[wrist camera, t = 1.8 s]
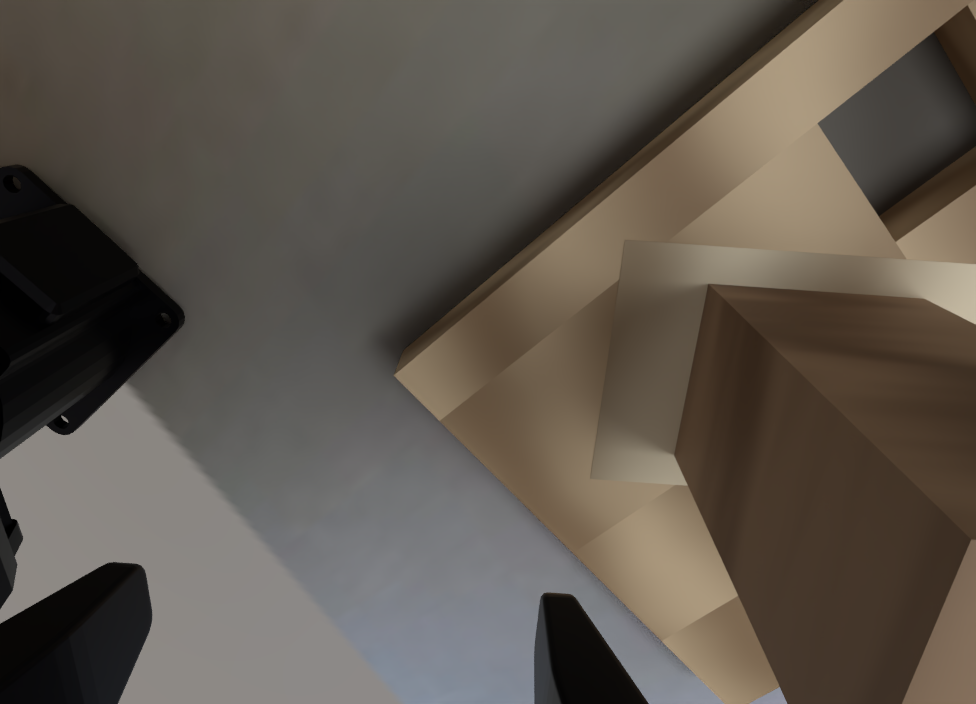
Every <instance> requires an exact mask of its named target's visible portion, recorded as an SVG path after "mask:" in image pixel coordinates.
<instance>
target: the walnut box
mask: <svg viewBox="0 0 976 704" xmlns="http://www.w3.org/2000/svg"><path fill="white" fill-rule="evenodd" d="M674 457H675V459H676V461H677V463H678V465H679V467H680V470H681V472H682V474H683V476H684V478H685V481H686V483H687V485H688V487H689V489H690V492H691V494H692V496H693V498H694V500H695V502H696V505H697V507H698V509H699V511H700V513H701V516H702V518H703V520H704V522H705V524H706V527H707V529H708V531H709V533H710V535H711V537H712V540H713V542H714V544H715V546H716V548H717V551H718V553H719V555H720V557H721V559H722V561H723V564H724V566H725V568H726V570H727V572H728V575H729V577H730V579H731V581H732V583H733V586H734V588H735V590H736V592H737V594H738V596H739V599H740V601H741V603H742V605H743V607H744V610H745V612H746V614H747V616H748V618H749V621H750V623H751V625H752V627H753V629H754V631H755V634H756V636H757V638H758V640H759V642H760V645H761V647H762V649H763V651H764V653H765V655H766V658H767V660H768V662H769V664H770V666H771V669H772V671H773V673H774V675H775V677H776V680H777V682H778V684H779V686H780V688H781V690H782V693H783V695H784V697H785V699H786V701H787V704H976V325H975V324H974V323H972V322H970V321H968V320H966V319H964V318H962V317H960V316H958V315H956V314H954V313H952V312H950V311H948V310H946V309H944V308H942V307H940V306H938V305H936V304H934V303H932V302H930V301H928V300H926V299H922V298H908V297H893V296H879V295H865V294H850V293H836V292H821V291H807V290H793V289H778V288H764V287H749V286H735V285H721V284H708V288H707V293H706V298H705V303H704V308H703V313H702V318H701V323H700V328H699V333H698V338H697V343H696V348H695V353H694V358H693V363H692V368H691V373H690V378H689V383H688V388H687V393H686V398H685V403H684V408H683V413H682V418H681V423H680V428H679V433H678V438H677V443H676V448H675V453H674Z"/></svg>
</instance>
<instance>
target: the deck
mask: <svg viewBox="0 0 976 704" xmlns="http://www.w3.org/2000/svg"><path fill="white" fill-rule="evenodd" d="M708 284H721V285H735V286H749V287H764V288H778V289H793V290H807V291H821V292H836V293H850V294H865V295H879V296H893V297H908V298H922V299H926V300H928V301H930V302H932V303H934V304H936V305H938V306H940V307H942V308H944V309H946V310H948V311H950V312H952V313H954V314H956V315H958V316H960V317H962V318H964V319H966V320H968V321H970V322H972V323H974V324H975V325H976V0H818V1H817V2H816V3H814V4H813V5H812V6H811V7H810V8H809V9H807V10H806V11H805V12H804V13H803V14H801V15H800V16H799V17H798V18H797V19H796V20H794V21H793V22H792V23H791V24H790V25H788V26H787V27H786V28H785V29H784V30H782V31H781V32H780V33H779V34H778V35H777V36H775V37H774V38H773V39H772V40H771V41H769V42H768V43H767V44H766V45H765V46H764V47H762V48H761V49H760V50H759V51H758V52H756V53H755V54H754V55H753V56H752V57H750V58H749V59H748V60H747V61H746V62H745V63H743V64H742V65H741V66H740V67H739V68H737V69H736V70H735V71H734V72H733V73H732V74H730V75H729V76H728V77H727V78H726V79H724V80H723V81H722V82H721V83H720V84H718V85H717V86H716V87H715V88H714V89H713V90H711V91H710V92H709V93H708V94H707V95H705V96H704V97H703V98H702V99H701V100H700V101H698V102H697V103H696V104H695V105H694V106H692V107H691V108H690V109H689V110H688V111H686V112H685V113H684V114H683V115H682V116H681V117H679V118H678V119H677V120H676V121H675V122H673V123H672V124H671V125H670V126H669V127H668V128H666V129H665V130H664V131H663V132H662V133H660V134H659V135H658V136H657V137H656V138H654V139H653V140H652V141H651V142H650V143H649V144H647V145H646V146H645V147H644V148H643V149H641V150H640V151H639V152H638V153H637V154H636V155H634V156H633V157H632V158H631V159H630V160H628V161H627V162H626V163H625V164H624V165H622V166H621V167H620V168H619V169H618V170H617V171H615V172H614V173H613V174H612V175H611V176H609V177H608V178H607V179H606V180H605V181H604V182H602V183H601V184H600V185H599V186H598V187H596V188H595V189H594V190H593V191H592V192H591V193H589V194H588V195H587V196H586V197H585V198H583V199H582V200H581V201H580V202H579V203H577V204H576V205H575V206H574V207H573V208H572V209H570V210H569V211H568V212H567V213H566V214H564V215H563V216H562V217H561V218H560V219H559V220H557V221H556V222H555V223H554V224H553V225H551V226H550V227H549V228H548V229H547V230H545V231H544V232H543V233H542V234H541V235H540V236H538V237H537V238H536V239H535V240H534V241H532V242H531V243H530V244H529V245H528V246H527V247H525V248H524V249H523V250H522V251H521V252H519V253H518V254H517V255H516V256H515V257H513V258H512V259H511V260H510V261H509V262H508V263H506V264H505V265H504V266H503V267H502V268H500V269H499V270H498V271H497V272H496V273H495V274H493V275H492V276H491V277H490V278H489V279H487V280H486V281H485V282H484V283H483V284H481V285H480V286H479V287H478V288H477V289H476V290H474V291H473V292H472V293H471V294H470V295H468V296H467V297H466V298H465V299H464V300H463V301H461V302H460V303H459V304H458V305H457V306H455V307H454V308H453V309H452V310H451V311H449V312H448V313H447V314H446V315H445V316H444V317H442V318H441V319H440V320H439V321H438V322H436V323H435V324H434V325H433V326H432V327H431V328H429V329H428V330H427V331H426V332H425V333H423V334H422V335H421V336H420V337H419V338H417V339H416V340H415V341H414V342H413V343H412V344H410V345H409V346H408V347H407V348H406V349H404V350H403V353H402V355H401V358H400V360H399V363H398V366H397V368H396V371H395V373H394V376H395V377H396V378H397V379H398V380H399V381H400V382H401V383H402V384H403V385H404V386H405V387H406V388H407V389H408V390H409V391H410V392H411V393H412V394H413V395H414V396H415V397H416V398H417V399H418V400H419V401H420V402H421V403H422V404H423V405H424V406H425V407H426V408H427V409H428V410H429V411H430V412H431V413H432V414H433V415H434V416H435V417H436V418H437V419H438V420H439V421H440V422H441V423H442V424H443V425H444V426H445V427H446V428H447V429H448V430H449V431H450V432H451V433H452V434H453V435H454V436H455V437H456V438H457V439H458V440H459V441H460V442H461V443H462V444H463V445H464V446H465V447H466V448H467V449H468V450H469V451H470V452H471V453H472V454H473V455H474V456H475V457H476V458H477V459H478V460H479V461H480V462H481V463H482V464H483V465H484V466H485V467H487V468H488V469H489V470H490V471H491V472H492V473H493V474H494V475H495V476H496V477H497V478H498V479H499V480H500V481H501V482H502V483H503V484H504V485H505V486H506V487H507V488H508V489H509V490H510V491H511V492H512V493H513V494H514V495H515V496H516V497H517V498H518V499H519V500H520V501H521V502H522V503H523V504H524V505H525V506H526V507H527V508H528V509H529V510H530V511H531V512H532V513H533V514H534V515H535V516H536V517H537V518H538V519H539V520H540V521H541V522H542V523H543V524H544V525H545V526H546V527H547V528H548V529H549V530H550V531H551V532H552V533H553V534H554V535H555V536H556V537H557V538H558V539H559V540H560V541H561V542H562V543H563V544H564V545H565V546H566V547H567V548H568V549H569V550H570V551H571V552H572V553H573V554H574V555H575V556H576V557H577V558H578V559H579V560H580V561H581V562H582V563H583V564H584V565H585V566H586V567H587V568H588V569H589V570H590V571H591V572H592V573H593V574H594V575H595V576H596V577H597V578H598V579H599V580H601V581H602V582H603V583H604V584H605V585H606V586H607V587H608V588H609V589H610V590H611V591H612V592H613V593H614V594H615V595H616V596H617V597H618V598H619V599H620V600H621V601H622V602H623V603H624V604H625V605H626V606H627V607H628V608H629V609H630V610H631V611H632V612H633V613H634V614H635V615H636V616H637V617H638V618H639V619H640V620H641V621H642V622H643V623H644V624H645V625H646V626H647V627H648V628H649V629H650V630H651V631H652V632H653V633H654V634H655V635H656V636H657V637H658V638H659V639H660V640H661V641H662V642H663V643H664V644H665V645H666V646H667V647H668V648H669V649H670V650H671V651H672V652H673V653H674V654H675V655H676V656H677V657H678V658H679V659H680V660H681V661H682V662H683V663H684V664H685V665H686V666H687V667H688V668H689V669H690V670H691V671H692V672H693V673H694V674H695V675H696V676H697V677H698V678H699V679H700V680H701V681H702V682H703V683H704V684H705V685H706V686H707V687H708V688H709V689H710V690H711V691H712V692H714V693H715V694H716V695H717V696H718V697H719V698H720V699H721V700H722V701H723V702H724V703H725V704H749V703H751V702H752V701H754V700H756V699H758V698H760V697H762V696H764V695H765V694H767V693H769V692H771V691H773V690H775V689H777V688H778V687H780V686H779V684H778V682H777V680H776V677H775V675H774V673H773V671H772V669H771V666H770V664H769V662H768V660H767V658H766V655H765V653H764V651H763V649H762V647H761V645H760V642H759V640H758V638H757V636H756V634H755V631H754V629H753V627H752V625H751V623H750V621H749V618H748V616H747V614H746V612H745V610H744V607H743V605H742V603H741V601H740V599H739V596H738V594H737V592H736V590H735V588H734V586H733V583H732V581H731V579H730V577H729V575H728V572H727V570H726V568H725V566H724V564H723V561H722V559H721V557H720V555H719V553H718V551H717V548H716V546H715V544H714V542H713V540H712V537H711V535H710V533H709V531H708V529H707V527H706V524H705V522H704V520H703V518H702V516H701V513H700V511H699V509H698V507H697V505H696V502H695V500H694V498H693V496H692V494H691V492H690V489H689V487H688V485H687V483H686V481H685V478H684V476H683V474H682V472H681V470H680V467H679V465H678V463H677V461H676V459H675V457H674V453H675V448H676V443H677V438H678V433H679V428H680V423H681V418H682V413H683V408H684V403H685V398H686V393H687V388H688V383H689V378H690V373H691V368H692V363H693V358H694V353H695V348H696V343H697V338H698V333H699V328H700V323H701V318H702V313H703V308H704V303H705V298H706V293H707V288H708Z"/></svg>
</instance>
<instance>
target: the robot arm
mask: <svg viewBox="0 0 976 704" xmlns="http://www.w3.org/2000/svg"><path fill="white" fill-rule="evenodd" d="M13 177H16V178H17V179H18V180H19V181H20V183H21V189H20V190H19V189H17V188H16V187H15V185H14V184H13ZM161 313H166V314H167V315H169V317H170V318H171V324H170V323H167V322H165V321H164V320H163V319H162V317H161ZM184 322H185V316H184V313H183V311H182V309H181V308H180V307H179V306H178V305H177V304H176V303H175V302H174V301H173V300H172V299H171V298H170V297H168V296H167V295H166V294H165V293H164V292H163V291H162V290H161V289H160V288H159V287H158V286H156V285H155V284H154V283H153V282H152V281H151V280H150V279H149V278H148V277H147V276H146V275H144V274H143V273H142V272H141V271H140V270H139V268H138V265H137V263H136V262H135V261H134V260H133V259H131V258H130V257H129V256H128V255H127V254H126V253H125V252H124V251H123V250H122V249H121V248H119V247H118V246H117V245H116V244H115V243H114V242H113V241H112V240H111V239H110V238H109V237H108V236H106V235H105V234H104V233H103V232H102V231H101V230H100V229H99V228H98V227H97V226H96V225H94V224H93V223H92V222H91V221H90V220H89V219H88V218H87V217H86V216H85V215H84V214H82V213H81V212H80V211H79V210H78V209H77V208H76V207H75V206H73V205H71V204H67V203H66V202H65V201H64V200H63V199H61V198H60V197H59V196H58V195H57V194H56V193H55V192H54V191H53V190H52V189H51V188H49V187H48V186H47V185H46V184H45V183H44V182H43V181H42V180H41V179H40V178H39V177H37V176H36V175H35V174H34V173H33V172H32V171H31V170H29V169H28V168H26V167H25V166H21V165H13V166H6V167H2V168H0V459H1V458H2V457H3V456H5V455H6V454H7V453H9V452H10V451H11V450H12V449H14V448H15V447H17V446H18V445H19V444H21V443H22V442H24V441H25V440H26V439H28V438H29V437H30V436H32V435H33V434H34V433H36V432H37V431H38V430H40V429H41V428H43V427H44V426H45V425H46V426H48V427H49V428H50V429H51V430H53V431H54V432H56V433H58V434H62V435H68V434H70V433H73V432H74V431H75V430H76V429H78V428H79V427H80V426H81V425H82V424H83V423H84V422H85V421H86V420H87V419H88V418H89V417H90V416H92V414H93V413H95V411H97V410H98V409H99V408H100V406H102V405H103V404H104V403H105V402H106V401H107V400H108V399H109V398H110V397H111V396H112V395H113V394H114V393H115V392H116V391H117V390H118V389H119V388H120V387H121V386H122V385H123V384H124V383H125V382H126V381H127V380H128V379H129V378H130V377H131V376H132V375H133V374H134V373H135V372H136V371H137V370H138V369H140V368H141V367H142V366H143V365H144V364H145V363H146V362H147V361H148V360H149V359H150V358H151V357H152V356H153V355H154V354H155V353H156V352H157V351H158V350H159V349H160V348H161V347H162V346H163V345H164V344H165V343H166V342H167V341H168V340H169V339H170V338H171V337H172V336H173V335H174V334H175V333H176V332H177V331H178V330H179V329H180V328H181V327H182V326H183V324H184ZM61 415H62V416H64V417H66V418H67V420H68V422H69V423H67V422H66V421H64V420H63V419H62V418H61ZM22 540H23V536H22V533H21V530H20V528H19V525H18V522H17V520H15V519H11V517H10V514H9V511H8V508H7V506H6V503H5V500H4V497H3V494H2V491H1V489H0V609H1V607H2V605H3V604H4V603H5V601H6V599H7V598H8V597H9V595H10V594H11V592H12V591H13V586H14V580H15V575H16V568H17V562H16V559H15V557H14V556H15V554H16V552H17V550H18V548H19V546H20V544H21V542H22ZM151 623H152V608H151V602H150V596H149V590H148V584H147V578H146V573H145V570H144V569H143V568H142V566H141V565H138V564H132V563H117V562H113V563H107V564H105V565H103V566H101V567H99V568H97V569H96V570H94V571H92V572H90V573H89V574H87V575H85V576H83V577H81V578H80V579H78V580H76V581H74V582H73V583H71V584H69V585H67V586H66V587H64V588H62V589H61V590H59V591H57V592H55V593H53V594H52V595H50V596H48V597H47V598H45V599H43V600H41V601H39V602H38V603H36V604H34V605H32V606H31V607H29V608H27V609H25V610H24V611H22V612H20V613H18V614H17V615H15V616H13V617H11V618H10V619H8V620H6V621H4V622H3V623H1V624H0V704H118V702H119V700H120V698H121V695H122V693H123V690H124V689H125V686H126V684H127V682H128V679H129V677H130V675H131V672H132V670H133V668H134V666H135V663H136V661H137V659H138V656H139V654H140V652H141V650H142V647H143V645H144V643H145V640H146V638H147V636H148V633H149V631H150V627H151ZM534 693H535V704H649V703H648V702H647V701H646V699H645V698H644V696H643V695H642V693H641V692H640V690H639V689H638V688H637V686H636V685H635V683H634V682H633V680H632V679H631V677H630V676H629V675H628V673H627V672H626V670H625V669H624V667H623V666H622V664H621V663H620V661H619V660H618V659H617V657H616V656H615V654H614V653H613V651H612V650H611V648H610V647H609V646H608V644H607V643H606V641H605V640H604V638H603V637H602V635H601V634H600V633H599V631H598V630H597V628H596V627H595V625H594V624H593V622H592V621H591V619H590V618H589V617H588V615H587V614H586V612H585V611H584V609H583V608H582V606H581V605H580V604H579V602H578V601H577V599H576V598H575V597H574V596H573V595H571V594H561V593H544V594H543V595H542V596H541V599H540V605H539V614H538V622H537V630H536V638H535V651H534Z"/></svg>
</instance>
